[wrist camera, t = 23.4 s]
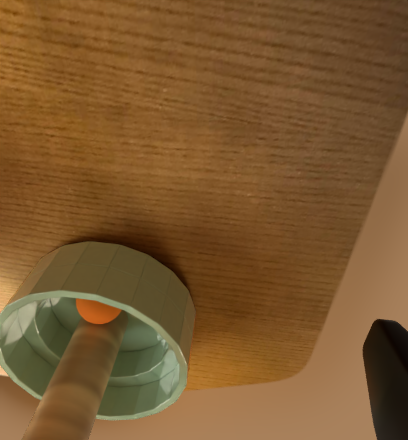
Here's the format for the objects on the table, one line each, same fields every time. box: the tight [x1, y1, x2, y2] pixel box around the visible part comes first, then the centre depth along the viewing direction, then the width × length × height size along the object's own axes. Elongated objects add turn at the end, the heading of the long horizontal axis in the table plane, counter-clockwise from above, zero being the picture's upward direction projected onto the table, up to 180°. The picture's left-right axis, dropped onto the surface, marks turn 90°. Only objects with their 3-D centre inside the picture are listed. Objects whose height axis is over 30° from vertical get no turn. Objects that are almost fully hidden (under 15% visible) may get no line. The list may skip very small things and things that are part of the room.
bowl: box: [0, 241, 196, 420], centre depth 25 cm, size 12×12×5 cm
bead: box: [76, 298, 121, 324], centre depth 24 cm, size 3×3×3 cm
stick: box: [22, 310, 128, 440], centre depth 21 cm, size 3×3×13 cm
